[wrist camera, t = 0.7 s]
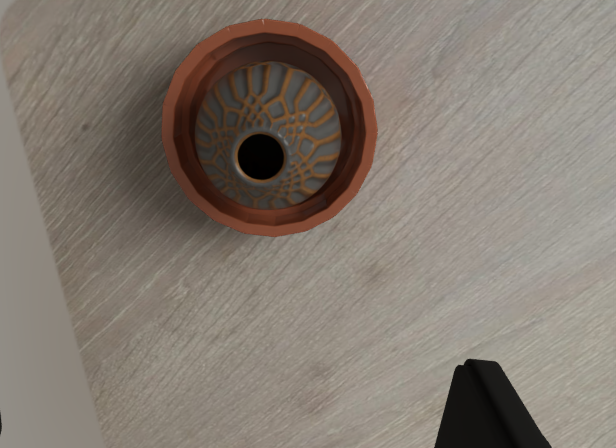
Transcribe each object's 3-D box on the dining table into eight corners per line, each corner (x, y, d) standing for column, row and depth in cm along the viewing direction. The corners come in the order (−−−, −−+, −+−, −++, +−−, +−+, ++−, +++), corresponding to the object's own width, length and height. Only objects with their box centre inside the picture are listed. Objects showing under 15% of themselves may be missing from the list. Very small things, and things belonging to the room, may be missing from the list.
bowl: (185, 11, 26) (165, 4, 22) (381, 39, 26) (395, 36, 22) (177, 201, 29) (158, 223, 25) (351, 222, 30) (357, 247, 26)
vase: (272, 30, 25) (258, 19, 17) (362, 127, 27) (387, 159, 19) (184, 124, 27) (131, 156, 19) (274, 210, 29) (262, 274, 20)
